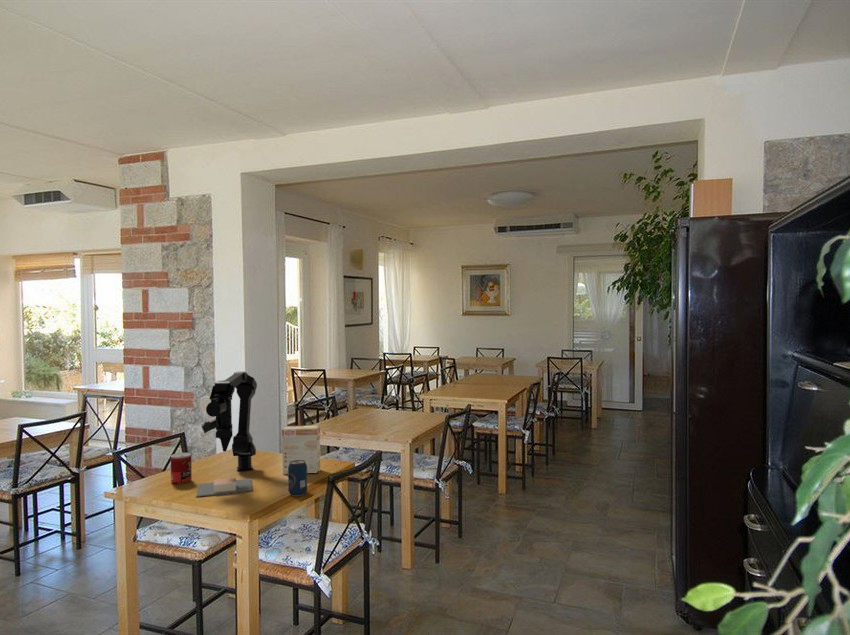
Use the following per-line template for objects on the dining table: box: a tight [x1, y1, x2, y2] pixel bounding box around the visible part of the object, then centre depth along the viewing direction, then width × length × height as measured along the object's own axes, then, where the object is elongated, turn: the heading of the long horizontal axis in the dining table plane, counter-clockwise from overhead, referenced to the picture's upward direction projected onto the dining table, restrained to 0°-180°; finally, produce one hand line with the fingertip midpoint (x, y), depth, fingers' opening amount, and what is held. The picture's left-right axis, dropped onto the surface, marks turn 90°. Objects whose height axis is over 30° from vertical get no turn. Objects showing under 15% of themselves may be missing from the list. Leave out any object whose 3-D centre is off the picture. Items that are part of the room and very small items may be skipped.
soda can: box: [287, 460, 308, 497], centre depth 211 cm, size 7×7×12 cm
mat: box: [195, 478, 254, 498], centre depth 219 cm, size 16×20×1 cm
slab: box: [213, 477, 237, 493], centre depth 217 cm, size 3×8×7 cm
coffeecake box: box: [281, 425, 322, 475], centre depth 241 cm, size 15×7×20 cm, turn 89°
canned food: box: [170, 452, 193, 484], centre depth 230 cm, size 8×8×11 cm
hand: (224, 451), depth 226 cm, fingers closed
